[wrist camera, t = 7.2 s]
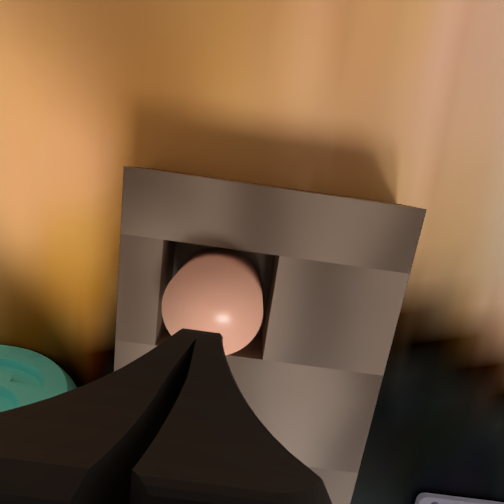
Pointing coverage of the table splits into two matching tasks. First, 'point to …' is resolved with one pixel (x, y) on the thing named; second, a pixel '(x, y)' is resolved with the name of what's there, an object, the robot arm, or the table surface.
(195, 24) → the table surface
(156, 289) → the button panel
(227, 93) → the table surface
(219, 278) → the terracotta button
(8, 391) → the decorative dice
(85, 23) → the table surface
